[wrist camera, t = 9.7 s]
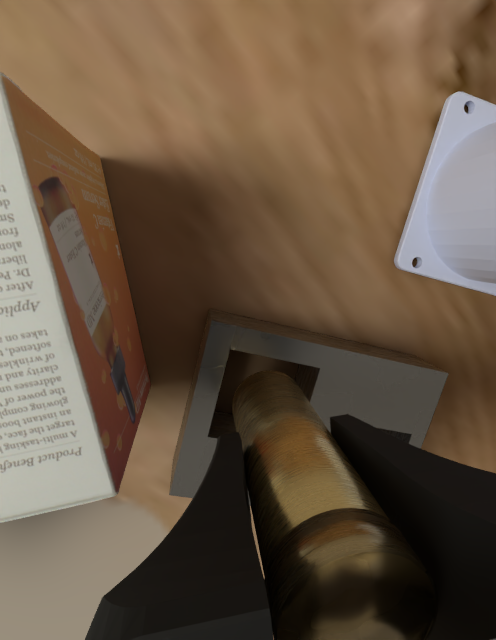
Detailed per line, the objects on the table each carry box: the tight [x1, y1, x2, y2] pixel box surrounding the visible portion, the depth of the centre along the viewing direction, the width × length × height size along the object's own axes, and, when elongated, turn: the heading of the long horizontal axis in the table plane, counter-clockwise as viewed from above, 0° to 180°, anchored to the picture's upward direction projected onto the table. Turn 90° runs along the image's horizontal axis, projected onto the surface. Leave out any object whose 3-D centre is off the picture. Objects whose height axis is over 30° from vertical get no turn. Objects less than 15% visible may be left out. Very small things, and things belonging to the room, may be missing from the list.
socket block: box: [169, 309, 449, 506], centre depth 17 cm, size 11×8×3 cm
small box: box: [0, 72, 151, 523], centre depth 12 cm, size 8×6×10 cm
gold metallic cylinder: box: [232, 371, 438, 640], centre depth 11 cm, size 3×3×9 cm
